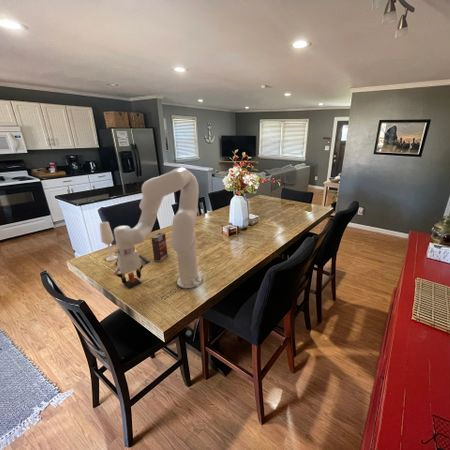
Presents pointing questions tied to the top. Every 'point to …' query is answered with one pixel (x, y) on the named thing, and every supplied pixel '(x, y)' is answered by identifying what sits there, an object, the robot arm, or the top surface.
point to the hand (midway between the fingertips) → (132, 280)
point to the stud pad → (132, 281)
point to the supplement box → (159, 247)
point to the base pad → (141, 259)
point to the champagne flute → (107, 238)
